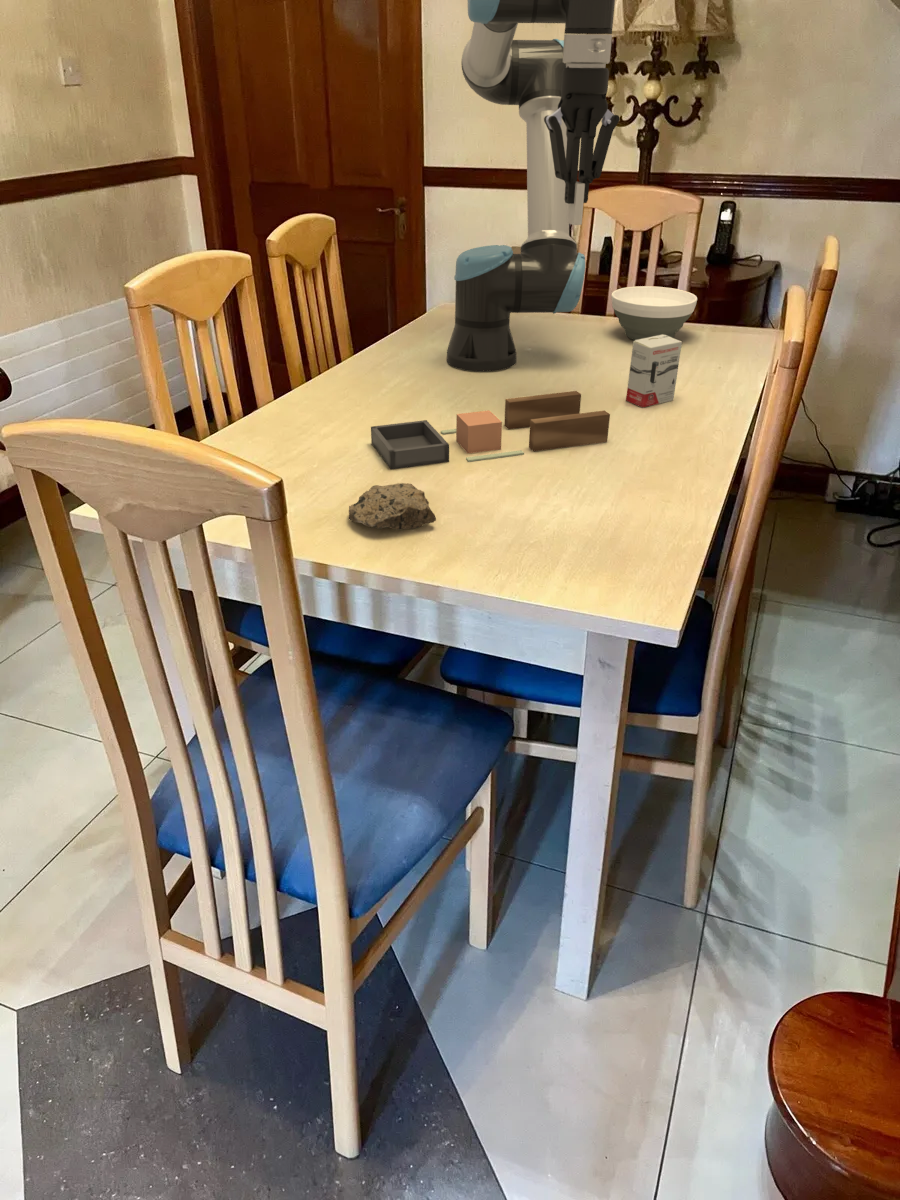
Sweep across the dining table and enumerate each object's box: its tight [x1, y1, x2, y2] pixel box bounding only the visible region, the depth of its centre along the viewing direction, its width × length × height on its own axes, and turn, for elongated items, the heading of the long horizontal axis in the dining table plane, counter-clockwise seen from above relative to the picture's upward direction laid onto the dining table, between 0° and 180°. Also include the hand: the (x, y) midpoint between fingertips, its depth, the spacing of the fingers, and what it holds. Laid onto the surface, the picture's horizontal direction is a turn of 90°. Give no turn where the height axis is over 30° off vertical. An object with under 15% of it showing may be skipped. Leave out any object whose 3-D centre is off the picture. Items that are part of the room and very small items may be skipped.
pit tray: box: [370, 419, 450, 470], centre depth 152 cm, size 12×10×3 cm
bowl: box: [610, 285, 698, 341], centre depth 212 cm, size 20×20×10 cm
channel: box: [503, 390, 611, 452], centre depth 159 cm, size 13×14×5 cm
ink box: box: [625, 334, 683, 409], centre depth 173 cm, size 8×5×12 cm, turn 123°
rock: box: [348, 482, 437, 530], centre depth 131 cm, size 11×12×4 cm
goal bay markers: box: [440, 428, 525, 463], centre depth 157 cm, size 14×10×1 cm
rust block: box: [455, 409, 503, 454], centre depth 155 cm, size 6×6×5 cm
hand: (574, 223), depth 157 cm, fingers closed
